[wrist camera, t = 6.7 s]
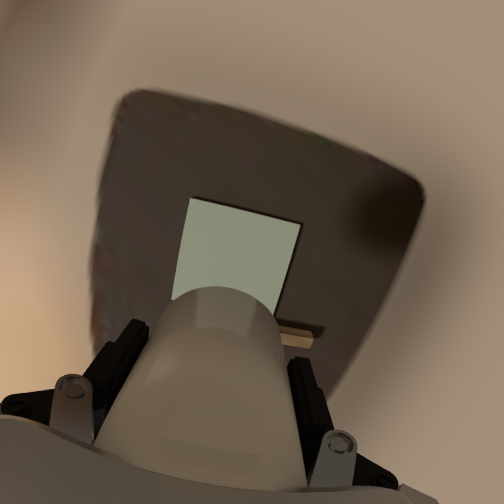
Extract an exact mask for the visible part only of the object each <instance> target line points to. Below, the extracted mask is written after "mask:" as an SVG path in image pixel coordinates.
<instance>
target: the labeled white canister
mask: <svg viewBox="0 0 504 504" xmlns="http://www.w3.org/2000/svg"><path fill="white" fill-rule="evenodd" d="M92 446H95V447H97V448H100V449H102V450H105V451H107V452H110V453H113V454H115V455H116V456H118V457H120V458H121V459H123V460H125V461H126V462H128V463H130V464H132V465H134V466H136V467H139V468H142V469H145V470H149V471H152V472H156V473H160V474H163V475H167V476H171V477H175V478H180V479H184V480H189V481H194V482H199V483H204V484H210V485H216V486H223V487H230V488H239V489H249V490H261V491H277V490H283V489H287V488H292V487H308V486H307V480H306V474H305V468H304V462H303V456H302V451H301V445H300V439H299V433H298V428H297V422H296V416H295V411H294V405H293V399H292V394H291V388H290V383H289V377H288V372H287V366H286V361H285V356H284V350H283V345H282V340H281V334H280V330H279V327H278V324H277V321H276V320H275V318H274V316H273V315H272V313H271V312H270V311H269V309H268V308H267V307H266V306H265V305H264V304H263V303H261V302H260V301H259V300H257V299H256V298H254V297H252V296H251V295H249V294H247V293H245V292H242V291H240V290H236V289H233V288H228V287H220V286H210V287H202V288H197V289H194V290H191V291H188V292H186V293H184V294H182V295H180V296H179V297H177V298H176V299H175V300H174V301H173V302H172V303H170V305H169V306H168V307H167V308H166V310H165V311H164V313H163V315H162V316H161V318H160V320H159V322H158V323H157V325H156V327H155V329H154V330H153V332H152V334H151V336H150V337H149V339H148V341H147V343H146V344H145V346H144V348H143V350H142V351H141V353H140V355H139V357H138V359H137V360H136V362H135V364H134V366H133V368H132V370H131V371H130V373H129V375H128V377H127V379H126V381H125V382H124V384H123V386H122V388H121V390H120V392H119V394H118V396H117V397H116V399H115V401H114V403H113V405H112V407H111V409H110V411H109V413H108V415H107V417H106V419H105V421H104V423H103V425H102V427H101V429H100V431H99V433H98V435H97V437H96V439H95V441H94V443H93V445H92Z"/></svg>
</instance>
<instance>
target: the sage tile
mask: <svg viewBox="0 0 504 504" xmlns="http://www.w3.org/2000/svg"><path fill="white" fill-rule="evenodd" d="M299 228H300V224H296V223H292V222H288V221H284V220H281V219H277V218H273V217H269V216H265V215H261V214H257V213H253V212H249V211H245V210H241V209H237V208H233V207H229V206H225V205H220V204H216V203H212V202H208V201H203V200H199V199H195V198H190V202H189V207H188V211H187V216H186V221H185V226H184V231H183V236H182V241H181V246H180V252H179V257H178V263H177V268H176V274H175V280H174V286H173V293H172V299H171V300H175V299H176V298H177V297H179V296H180V295H182V294H184V293H186V292H188V291H191V290H194V289H197V288H202V287H210V286H220V287H228V288H233V289H236V290H240V291H242V292H245V293H247V294H249V295H251V296H252V297H254V298H256V299H257V300H259V301H260V302H261V303H263V304H264V305H265V306H266V307H267V308H268V309H269V311H270V312H271V313H272V315H273V314H274V311H275V308H276V304H277V301H278V298H279V295H280V292H281V288H282V285H283V282H284V279H285V276H286V272H287V269H288V266H289V262H290V259H291V256H292V252H293V249H294V245H295V242H296V239H297V235H298V232H299Z"/></svg>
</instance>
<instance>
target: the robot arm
mask: <svg viewBox="0 0 504 504" xmlns="http://www.w3.org/2000/svg"><path fill="white" fill-rule="evenodd" d="M148 336H149V326H146V324H145V322H143V321H140V320H137V319H132V320H131V321H130V323H129V324H128V325H127V327H126V328H125V329H124V331H123V332H122V333H121V335H120V336H119V338H118V339H117V340H116V342H115V343H114V342H111V341H108V342H107V343H106V344H105V346H104V347H103V348H102V350H101V351H100V352H99V354H98V355H97V356H96V358H95V359H94V360H93V362H92V363H91V364H90V366H89V367H88V368H87V370H86V371H85V373H84V374H83V375H82V376H81V375H78V374H67V375H64V376H62V377H60V378H59V379H58V380H57V382H56V385H55V389H49V390H43V391H35V392H28V393H19V394H12V395H9V396H7V397H5V398H4V399H3V401H2V403H0V504H439V503H438V502H437V500H436V499H434V498H432V497H430V496H428V495H425V494H423V493H421V492H419V491H417V490H415V489H413V488H411V487H409V486H407V485H405V484H402V485H398V480H397V478H396V477H395V476H394V475H393V474H392V473H391V472H389V471H387V470H386V469H383V468H382V467H380V466H379V465H377V464H375V463H373V462H372V461H370V460H368V459H367V458H365V457H363V456H362V455H360V454H358V453H357V442H356V441H355V439H354V438H353V436H351V435H350V434H349V433H347V432H345V431H342V430H334V426H333V423H332V420H331V417H330V413H329V410H328V407H327V403H326V400H325V397H324V394H323V391H322V389H321V388H318V387H317V383H316V380H315V377H314V373H313V370H312V367H311V363H310V360H309V358H304V357H297V356H296V357H295V358H294V359H291V360H290V361H289V364H288V366H287V372H288V377H289V383H290V388H291V394H292V399H293V405H294V411H295V416H296V422H297V428H298V433H299V439H300V445H301V451H302V456H303V462H304V468H305V474H306V480H307V486H308V487H292V488H287V489H283V490H277V491H261V490H249V489H239V488H230V487H223V486H216V485H210V484H204V483H199V482H194V481H189V480H184V479H180V478H175V477H171V476H167V475H163V474H160V473H156V472H152V471H149V470H145V469H142V468H139V467H136V466H134V465H132V464H130V463H128V462H126V461H125V460H123V459H121V458H120V457H118V456H116V455H115V454H113V453H110V452H107V451H105V450H102V449H100V448H97V447H95V446H92V445H93V443H94V441H95V439H96V437H97V435H98V433H99V431H100V429H101V427H102V425H103V423H104V421H105V419H106V417H107V415H108V413H109V411H110V409H111V407H112V405H113V403H114V401H115V399H116V397H117V396H118V394H119V392H120V390H121V388H122V386H123V384H124V382H125V381H126V379H127V377H128V375H129V373H130V371H131V370H132V368H133V366H134V364H135V362H136V360H137V359H138V357H139V355H140V353H141V351H142V350H143V348H144V346H145V344H146V343H147V341H148Z"/></svg>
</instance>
